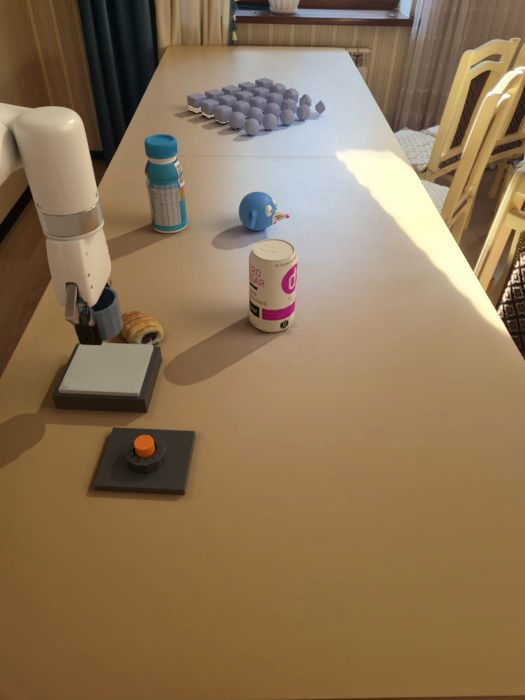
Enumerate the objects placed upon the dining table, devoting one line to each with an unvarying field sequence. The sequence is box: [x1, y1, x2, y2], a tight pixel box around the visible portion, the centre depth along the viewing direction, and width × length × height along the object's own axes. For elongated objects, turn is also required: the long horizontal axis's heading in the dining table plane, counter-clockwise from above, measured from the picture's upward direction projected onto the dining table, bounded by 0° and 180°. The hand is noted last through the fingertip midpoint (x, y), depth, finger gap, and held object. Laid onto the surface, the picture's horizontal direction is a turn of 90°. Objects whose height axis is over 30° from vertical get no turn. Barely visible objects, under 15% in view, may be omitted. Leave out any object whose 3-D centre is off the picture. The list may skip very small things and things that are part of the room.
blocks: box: [186, 77, 327, 136], centre depth 184 cm, size 35×34×5 cm
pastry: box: [120, 310, 165, 345], centre depth 95 cm, size 9×7×4 cm
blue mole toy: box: [238, 191, 291, 232], centre depth 122 cm, size 12×12×8 cm
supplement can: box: [248, 238, 299, 333], centre depth 95 cm, size 8×8×15 cm
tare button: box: [134, 435, 155, 458], centre depth 73 cm, size 3×3×2 cm
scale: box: [51, 342, 163, 414], centre depth 85 cm, size 14×12×4 cm
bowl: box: [72, 286, 124, 342], centre depth 78 cm, size 7×7×6 cm
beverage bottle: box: [143, 133, 188, 234], centre depth 119 cm, size 8×8×20 cm
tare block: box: [93, 426, 197, 496], centre depth 74 cm, size 12×10×3 cm
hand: (98, 326), depth 79 cm, fingers closed on bowl, 6 cm apart
